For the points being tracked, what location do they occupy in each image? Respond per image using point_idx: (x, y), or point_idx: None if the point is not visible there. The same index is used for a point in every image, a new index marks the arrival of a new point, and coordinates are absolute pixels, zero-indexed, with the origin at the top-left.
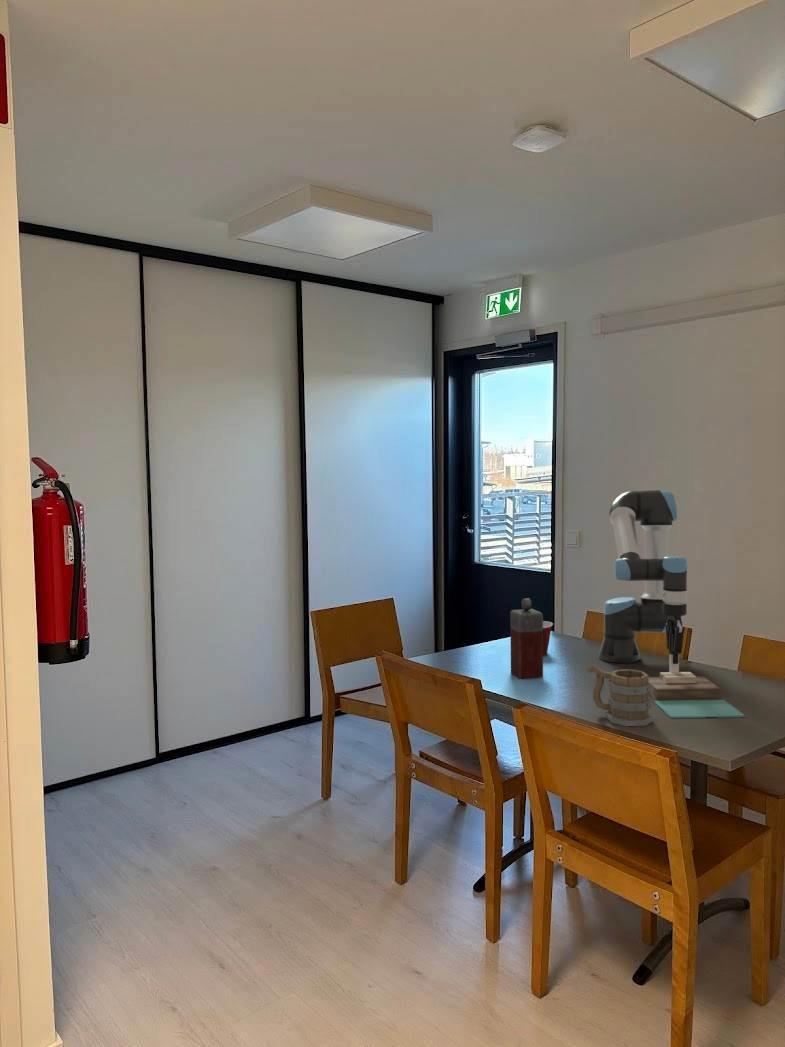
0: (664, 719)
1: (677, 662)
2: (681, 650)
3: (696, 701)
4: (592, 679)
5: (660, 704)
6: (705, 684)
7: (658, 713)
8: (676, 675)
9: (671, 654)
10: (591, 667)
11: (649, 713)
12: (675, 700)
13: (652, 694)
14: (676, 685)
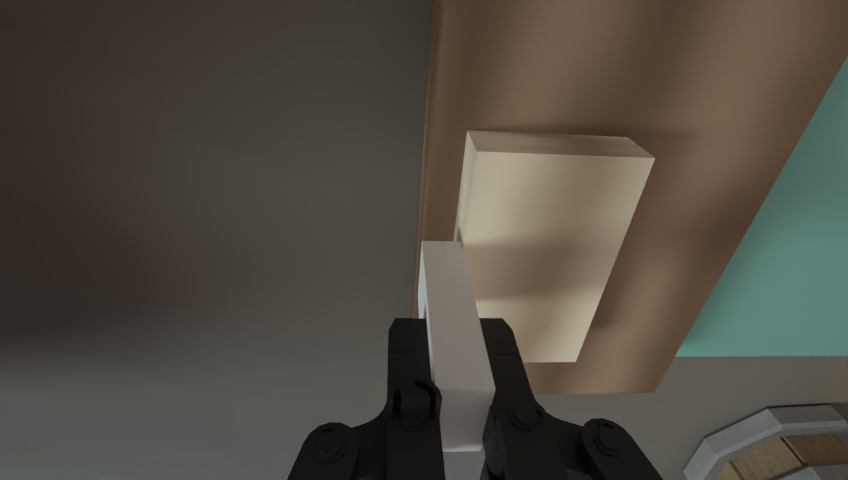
0: (835, 369)
1: (510, 336)
2: (651, 470)
3: None
4: (234, 466)
5: (691, 349)
6: (705, 79)
7: (763, 370)
8: (555, 292)
9: (479, 441)
10: None
11: (817, 426)
12: None
13: None
14: (632, 291)
